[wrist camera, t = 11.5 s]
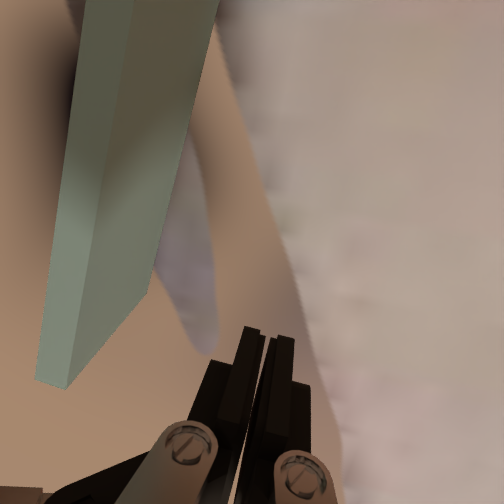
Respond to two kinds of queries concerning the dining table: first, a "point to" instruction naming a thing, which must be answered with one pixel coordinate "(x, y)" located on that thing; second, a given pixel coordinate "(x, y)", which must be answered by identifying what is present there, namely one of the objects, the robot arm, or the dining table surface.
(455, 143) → the dining table surface
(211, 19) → the sage green panel
